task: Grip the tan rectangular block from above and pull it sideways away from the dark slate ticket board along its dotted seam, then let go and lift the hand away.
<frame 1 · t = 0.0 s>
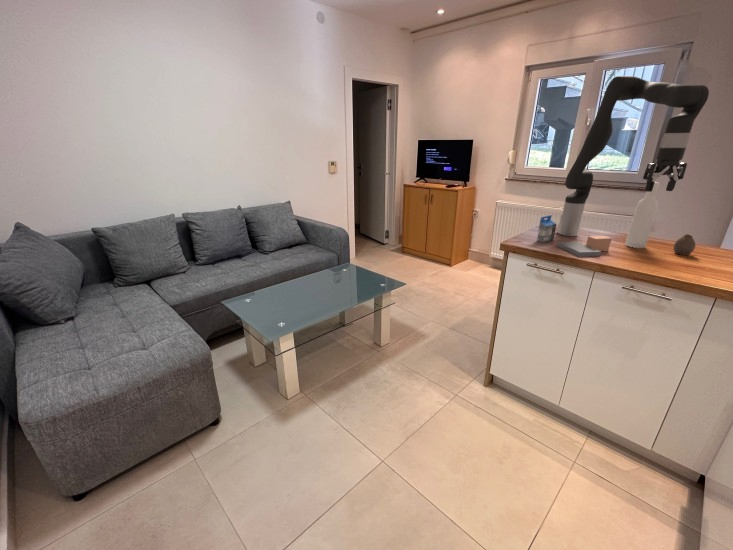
hand: (658, 191, 129), 29 cm above the table, tool pointing down, fingers open, 8 cm apart
tan rectangular block: (598, 243, 155), point 3 cm above the table, slide at 0.0 cm
label tape box: (544, 240, 171), on the table
grey pear shaped lump: (681, 254, 150), on the table
ticket board: (577, 250, 155), on the table
bottle: (634, 246, 161), on the table
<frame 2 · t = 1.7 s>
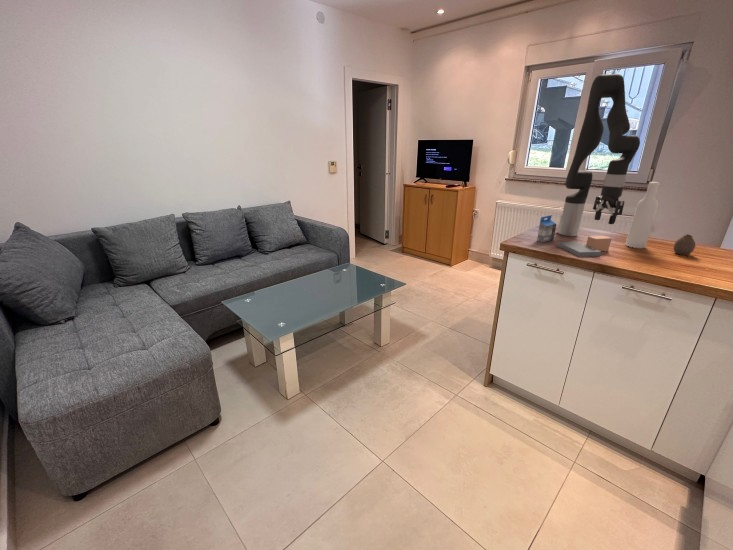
hand: (603, 222, 151), 13 cm above the table, tool pointing down, fingers open, 8 cm apart
nothing on the table moved.
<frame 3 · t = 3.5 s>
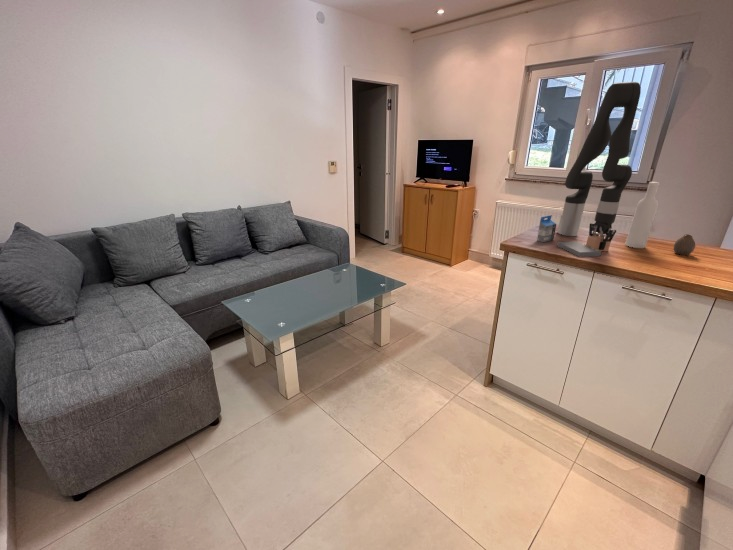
hand: (597, 247, 155), 1 cm above the table, tool pointing down, fingers closed on tan rectangular block, 4 cm apart
tan rectangular block: (598, 243, 155), point 3 cm above the table, slide at 0.0 cm, touching gripper
everything else where it was.
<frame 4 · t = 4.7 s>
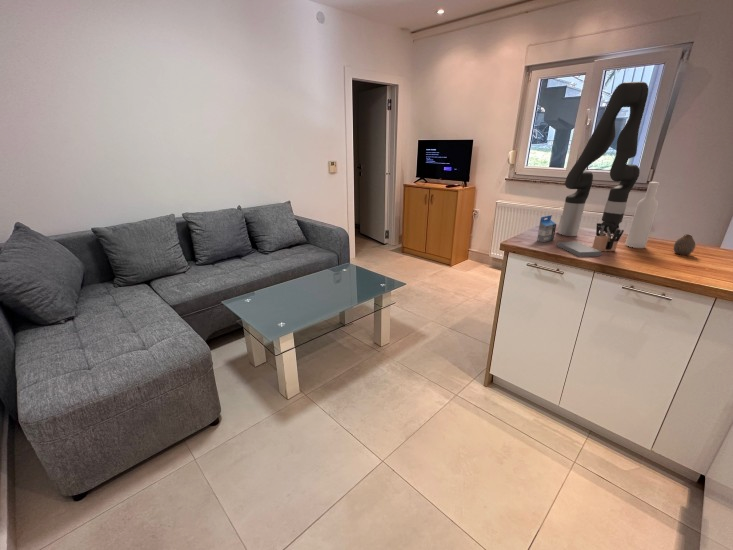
hand: (604, 247, 156), 1 cm above the table, tool pointing down, fingers closed on tan rectangular block, 4 cm apart
tan rectangular block: (605, 243, 155), point 3 cm above the table, slide at 3.5 cm, touching gripper
everything else where it was.
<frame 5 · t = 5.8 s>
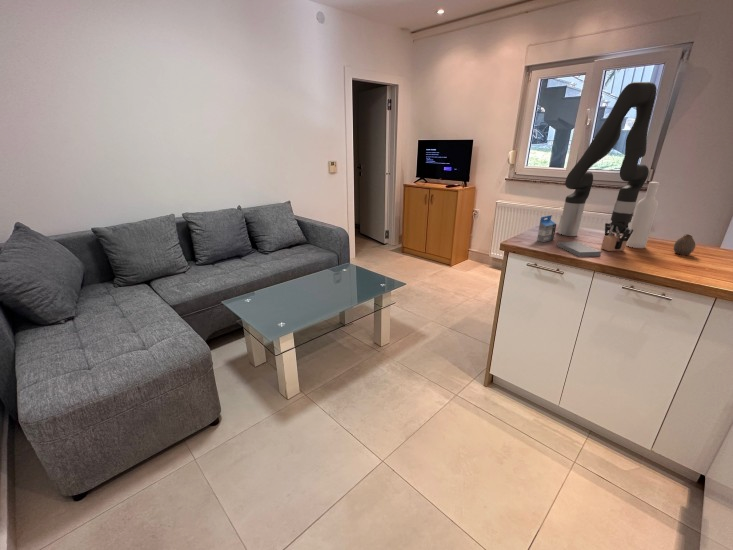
hand: (613, 247, 156), 1 cm above the table, tool pointing down, fingers closed on tan rectangular block, 4 cm apart
tan rectangular block: (614, 243, 155), point 3 cm above the table, slide at 7.9 cm, touching gripper
everything else where it was.
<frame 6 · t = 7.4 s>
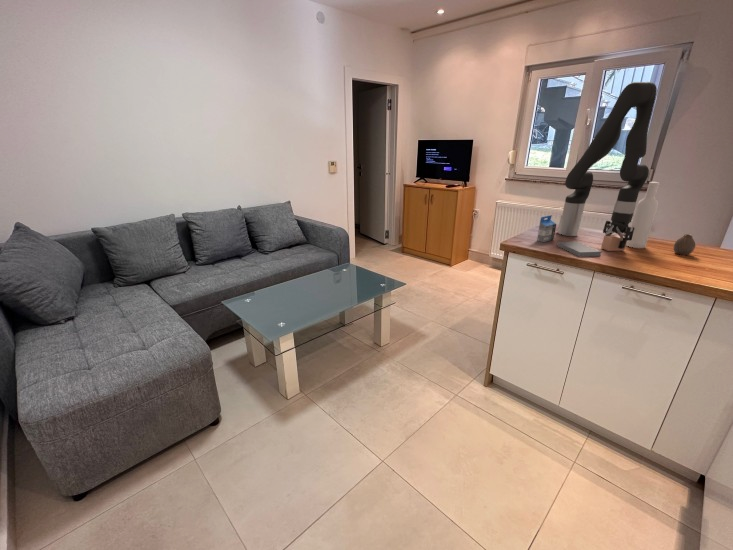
hand: (613, 245, 156), 2 cm above the table, tool pointing down, fingers open, 8 cm apart
tan rectangular block: (614, 243, 155), point 3 cm above the table, slide at 7.9 cm
everything else where it was.
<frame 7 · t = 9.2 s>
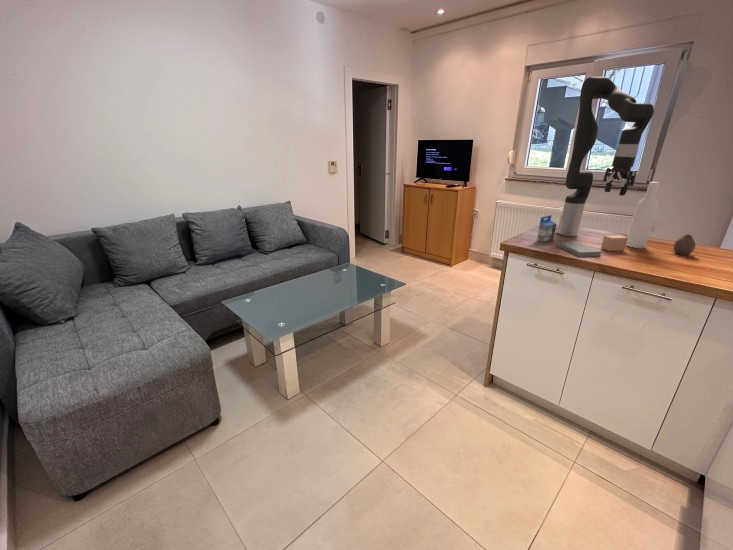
hand: (614, 193, 149), 25 cm above the table, tool pointing down, fingers open, 8 cm apart
nothing on the table moved.
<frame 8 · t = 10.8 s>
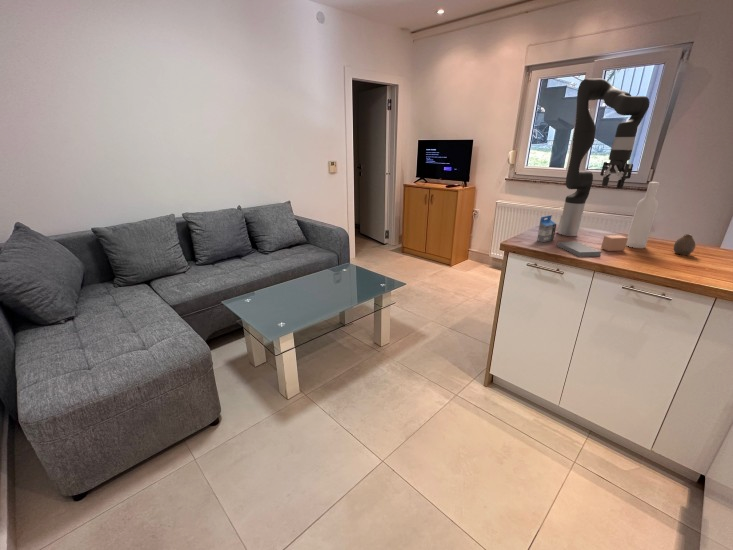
hand: (611, 187, 149), 28 cm above the table, tool pointing down, fingers open, 8 cm apart
nothing on the table moved.
at the end: tan rectangular block slide at 7.9 cm; the gripper is holding nothing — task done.
